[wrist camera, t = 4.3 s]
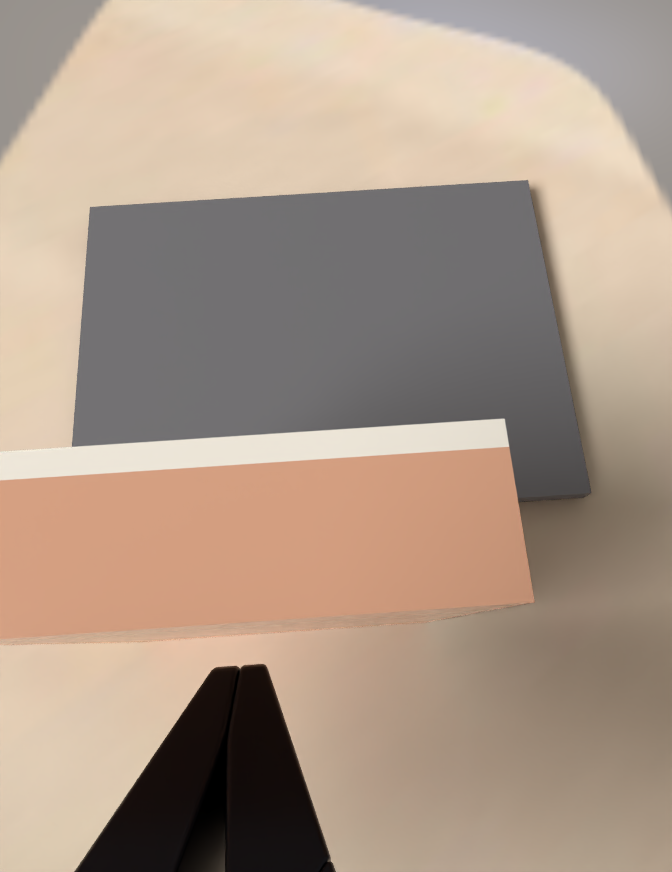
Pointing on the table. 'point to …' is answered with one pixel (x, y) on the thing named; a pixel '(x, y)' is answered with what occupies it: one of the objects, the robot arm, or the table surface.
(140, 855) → the robot arm
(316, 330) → the mat
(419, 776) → the table surface
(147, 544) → the tile
